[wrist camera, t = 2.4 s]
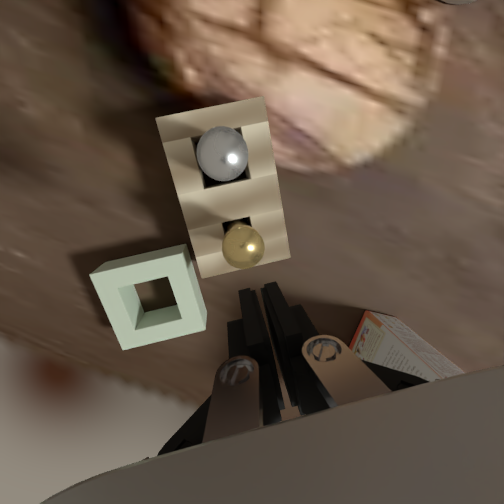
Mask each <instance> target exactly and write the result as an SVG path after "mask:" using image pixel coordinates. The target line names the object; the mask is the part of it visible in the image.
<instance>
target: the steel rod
mask: <svg viewBox="0 0 504 504" xmlns="http://www.w3.org/2000/svg"><path fill="white" fill-rule="evenodd" d="M197 159H198V163H199V165H200V167H201V169H202V170H203V171H204V173H206V174H207V175H208V176H209V177H211V178H212V179H215V180H218V181H229V180H232V179H235V178H236V177H238V176H239V175H240V174H241V173H242V172H243V171H244V169H245V167H246V165H247V162H248V148H247V144H246V142H245V140H244V138H243V137H242V136H241V135H240V134H239V133H238V132H237V131H236V130H234V129H232V128H229V127H225V126H218V127H214V128H211V129H209V130H208V131H206V132H205V133H204V134H203V135H202V137H201V138H200V140H199V142H198V146H197Z"/></svg>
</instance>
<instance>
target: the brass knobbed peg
mask: <svg viewBox="0 0 504 504" xmlns="http://www.w3.org/2000/svg"><path fill="white" fill-rule="evenodd" d="M264 251H265V245H264V241H263V239H262V237H261V235H260V234H259V233H258V231H257V230H256V229H254V228H252V227H250V226H248V225H247V223H246V222H245V221H244V220H242V219H236V220H232V221H230V222H229V224H228V226H227V233H226V234H225V236H224V237H223V241H222V253H223V256H224V258H225V260H226V261H227V263H228V264H230V265H231V266H233V267H235V268H238V269H248V268H251V267H253V266H255V265H256V264H258V263H259V262H260V260H261V259H262V257H263V255H264Z"/></svg>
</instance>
